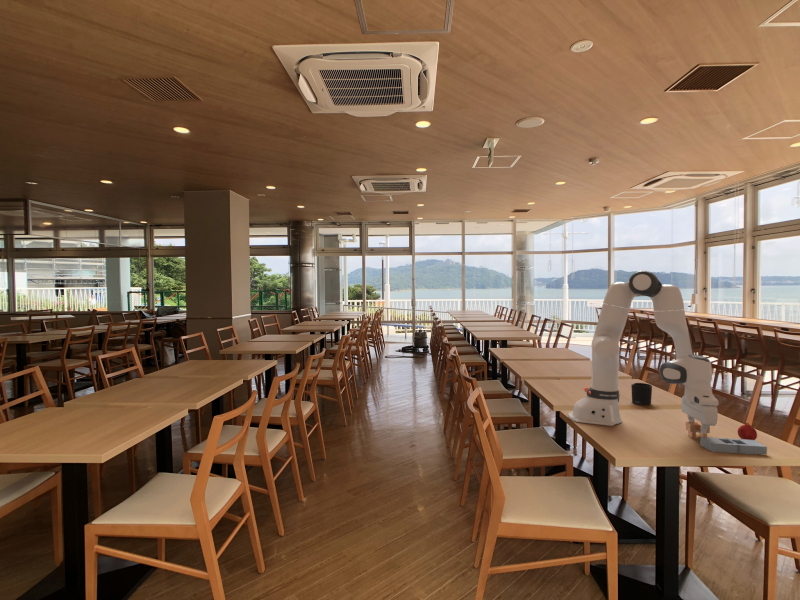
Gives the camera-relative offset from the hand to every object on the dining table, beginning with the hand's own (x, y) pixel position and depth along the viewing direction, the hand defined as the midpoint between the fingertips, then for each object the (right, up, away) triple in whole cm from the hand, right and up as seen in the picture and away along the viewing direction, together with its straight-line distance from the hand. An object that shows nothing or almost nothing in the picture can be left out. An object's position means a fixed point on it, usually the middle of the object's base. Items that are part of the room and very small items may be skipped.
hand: (697, 429), depth 166 cm
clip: (0, -3, 0) cm, 3 cm away
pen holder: (+8, -3, +51) cm, 52 cm away
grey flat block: (+4, -3, -13) cm, 14 cm away
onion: (+15, -3, -6) cm, 17 cm away
